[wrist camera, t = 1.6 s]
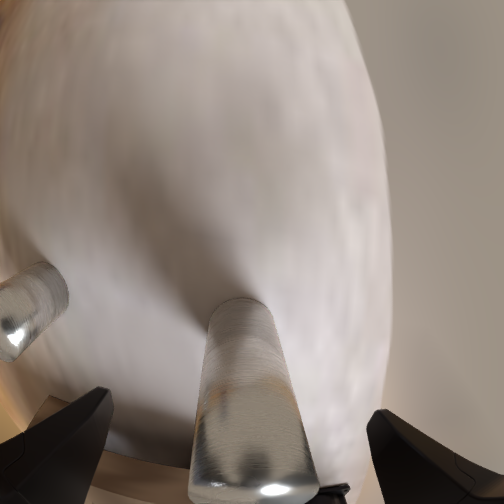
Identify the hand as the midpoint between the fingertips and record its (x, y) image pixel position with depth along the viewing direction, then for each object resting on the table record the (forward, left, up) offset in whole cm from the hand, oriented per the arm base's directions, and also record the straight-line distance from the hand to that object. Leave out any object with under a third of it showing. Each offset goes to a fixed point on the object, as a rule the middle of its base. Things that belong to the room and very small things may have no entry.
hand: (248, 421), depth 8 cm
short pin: (+11, 0, -6) cm, 13 cm away
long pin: (0, 0, -6) cm, 6 cm away
